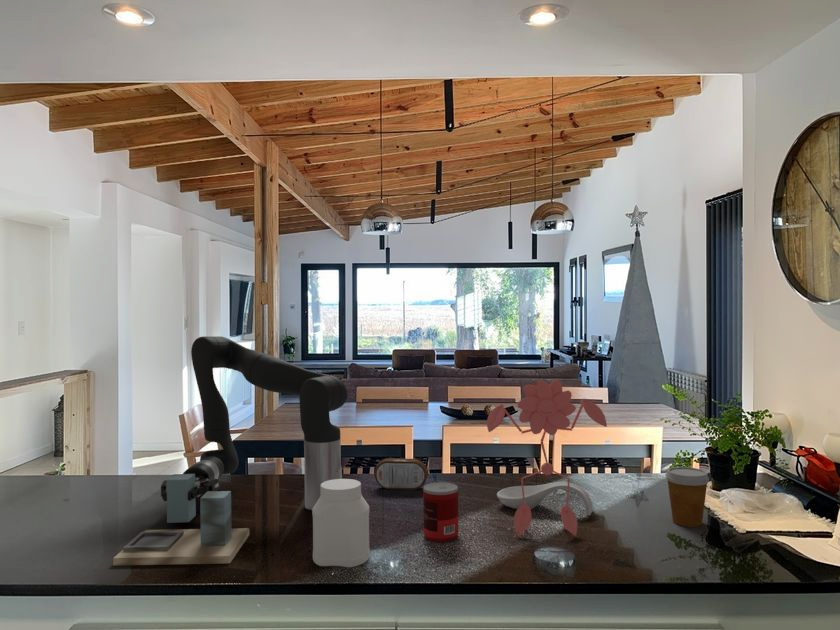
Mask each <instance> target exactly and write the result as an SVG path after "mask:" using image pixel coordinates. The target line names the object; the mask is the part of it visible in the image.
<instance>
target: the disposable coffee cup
mask: <svg viewBox="0 0 840 630" xmlns="http://www.w3.org/2000/svg"><path fill="white" fill-rule="evenodd" d="M664 475H665V478H666V480H667V486H668V493H669V500H670V508H671V516H672V522H673V523H674V524H676V525H678V526H682V527H686V528H687V527H689V528H695V527H696V528H697V527H700V526H702V525H703V517H704V511H705V505H706V503H705V502H706V495H707V488H708V483H709V481H710V478H709V475H708V472H707V471H705V470H703V469H701V468H700V469H699V468H695V467H690V466H673V467H669V468H668V469H667V470H666V473H665V474H664Z"/></svg>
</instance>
